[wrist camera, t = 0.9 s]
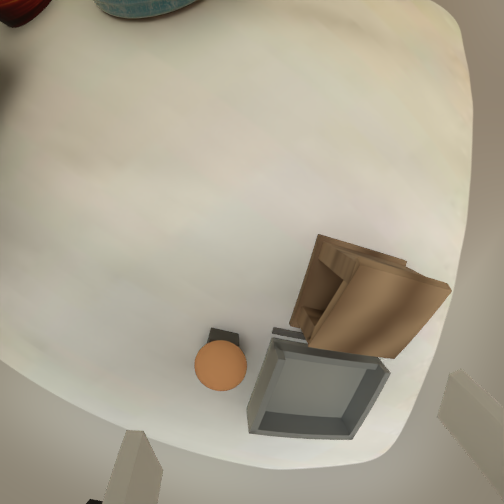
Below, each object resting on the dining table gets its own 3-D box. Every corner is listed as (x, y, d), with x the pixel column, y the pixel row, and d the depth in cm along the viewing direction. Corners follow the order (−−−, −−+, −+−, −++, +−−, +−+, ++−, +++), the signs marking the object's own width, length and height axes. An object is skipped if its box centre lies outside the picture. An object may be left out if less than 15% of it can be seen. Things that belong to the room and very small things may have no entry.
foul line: (271, 332, 33) (272, 333, 32) (273, 327, 32) (273, 327, 32) (378, 350, 34) (378, 351, 34) (380, 345, 34) (380, 346, 34)
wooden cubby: (289, 323, 32) (311, 374, 23) (318, 233, 31) (356, 256, 21) (373, 338, 34) (413, 383, 24) (403, 259, 32) (457, 286, 22)
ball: (192, 366, 30) (187, 394, 26) (202, 326, 29) (197, 351, 25) (238, 376, 31) (240, 405, 26) (251, 337, 30) (255, 363, 25)
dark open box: (205, 350, 32) (203, 362, 30) (210, 327, 32) (209, 338, 29) (231, 356, 33) (231, 368, 30) (238, 333, 32) (239, 345, 30)
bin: (246, 409, 35) (248, 433, 30) (272, 337, 33) (278, 358, 28) (342, 418, 36) (352, 439, 32) (375, 354, 34) (390, 373, 30)
